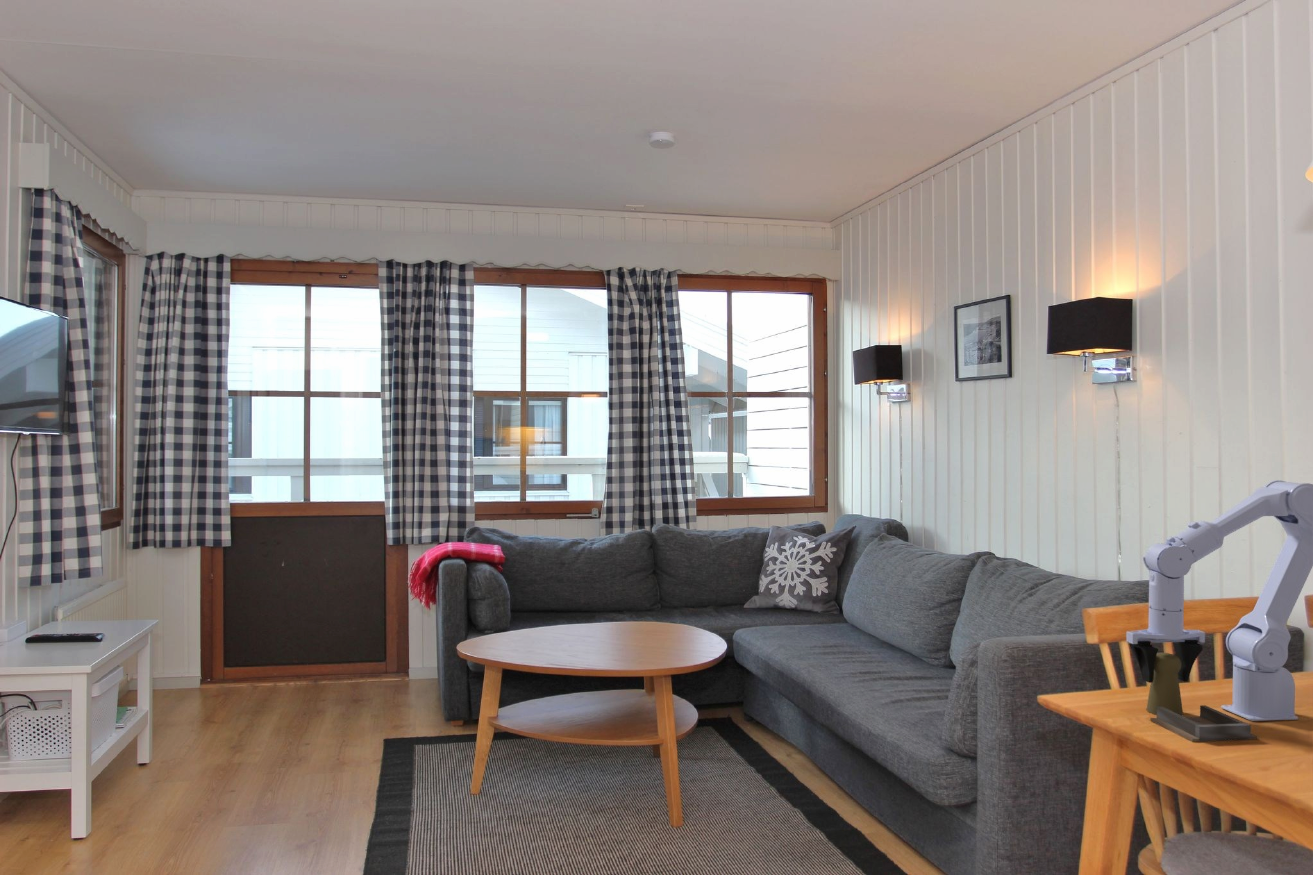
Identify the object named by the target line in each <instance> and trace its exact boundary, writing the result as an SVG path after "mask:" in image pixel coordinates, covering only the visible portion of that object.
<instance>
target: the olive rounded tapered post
mask: <svg viewBox="0 0 1313 875" xmlns="http://www.w3.org/2000/svg"><path fill="white" fill-rule="evenodd" d="M1180 669H1181V660H1180V659H1179V657H1177V656H1176V654H1173V653H1169V652H1157V654H1156V658H1155V663H1154V679H1153V683H1150V687H1149V692H1148V696H1147V697H1148V698H1147V703H1146V711H1147V712H1148V713H1149V714H1151V715H1155V716H1157V707H1164V708H1166V709H1168V710H1170V711H1172V712H1174V713H1177V714H1179V715H1181V716H1182V715H1183V716H1184V712H1183V710H1184V709H1183V704H1182V695H1181V688H1180V680H1179V679H1178V672H1179V671H1180Z"/></svg>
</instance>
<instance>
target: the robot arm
mask: <svg viewBox="0 0 1313 875" xmlns="http://www.w3.org/2000/svg"><path fill="white" fill-rule="evenodd" d="M1263 517H1274V518H1275V519H1276V520H1277V521H1278V522H1279V523H1280V524H1281V526H1282V528H1283V529H1284V531H1285V533H1286V539H1285V540H1284V542H1283V544H1282V547H1281V548H1280V551H1279V554H1278V556H1277V558H1276V560H1275V562H1274V564H1273V566H1272V567H1271V568H1272V569H1271V571H1270V573H1269V575H1268V578H1267V579H1266V582H1265V584H1264V586H1263V588H1262V590H1261V591H1260V592H1261V593H1260V594H1259V597H1258V598H1257V600H1256V604H1255V606H1254V608H1253V610H1252V611H1251V612H1249V613H1247V614H1244V616H1242V617H1241V618H1240V619H1239V621H1238V624H1237V625H1236V626H1235V627H1233V628H1232V629H1231V630H1230V631H1229V632H1228V634H1227V636H1226V637H1225V645H1226V649H1227V651H1228V652H1229V653H1230V655H1232V704H1224V705H1223V704H1221V706H1220V708H1221V709H1223V710H1226V711H1228V712H1229V713H1233V714H1235V715H1237V716H1239V717H1242V718H1244V719H1247V720H1249V721H1253V722H1259V721H1260V722H1261V721H1264V722H1265V721H1286V720H1287V721H1293V720H1294V721H1295V720H1298V719H1299V717H1298V716H1297V715H1295V714H1296V709H1295V708H1296V705H1295V704H1296V682H1295V679H1294V676H1293V675H1292V673H1291V672H1290V671H1289V670H1288V669H1287V668H1285V667H1283V666H1285V664H1286V662H1287V661H1288V657H1289V650H1288V649H1289V648H1288V647H1289V643H1290V641H1291V639H1292V636H1291V634H1290V631H1289V629H1288V627H1287V622H1288V620H1289V618H1290V616H1291V614H1292V611H1293V609H1294V607H1295V606H1296V603H1297V601H1298V599H1299V596H1300V594H1301V592H1302V590H1303V588H1304V586H1305V584H1306V582H1307V580H1308V578H1309V575H1310V573H1311V571H1312V569H1313V483H1307V482H1306V483H1305V482H1304V483H1303V482H1302V483H1301V482H1300V483H1299V482H1290V481H1284V480H1279V479H1278V480H1272V481H1269V482H1268V483H1267V484H1266V485H1265V486H1261V487H1259V488H1257V489H1255V490H1254V491H1253V492H1252V494H1251V495H1249V496H1247V497H1246V498H1244V499H1243V500H1242V501H1240V502H1239V503H1237V504H1236V505H1234V506H1233V507H1231V508H1230V509H1228V510H1227V511H1225V512H1224V513H1222V514H1221V515H1219V516H1218V517H1217V518H1215V519H1213V520H1212V521H1210V522H1209V521H1205V520H1204V521H1203V520H1199V521H1198V522H1197V521H1191V522H1190V523H1188V524H1187V526H1188V527H1187V529H1185V530H1183V531H1182V532H1179V533H1178V534H1176V535H1174V536H1169V537H1167V538H1165V541H1166V542H1165V543H1155V544H1153V545H1151V546H1150V547H1149V548H1148V549H1147V552H1146V553H1145V556H1143V557H1142V561H1143V564H1144V566H1145V567H1146V569H1147V570H1148V572H1149V574H1148V576H1149V579H1148V581H1149V583H1148V628H1147V629H1139V630H1132V631H1126V640H1125V642H1127V643H1129V644H1128V645H1129V648H1130V649H1131V651H1132V653H1133V654H1134V657H1135V658H1136V660H1137V663H1138V667H1139V670H1140V673H1141V674H1140V675H1141V678H1142V679H1141V680H1143V681H1145V682H1147V683H1149V684H1151V683H1153V679H1154V663H1155V658H1156V654H1157V653H1159V649H1158V648H1157V647H1154V646H1153V644H1154V643H1157V644H1158V643H1172V644H1173V648H1174V653H1175V654H1174V655H1176V656H1177V657H1179V659H1180V660H1181V669H1180V671H1179V672H1178V679H1179V681H1181V682H1184V683H1185V682H1187V683H1188V682H1189V678H1190V675H1191V672H1192V670H1193V666H1194V664H1195V662H1196V660H1197V658H1198V657H1199V655H1200V654H1201V653H1202V651H1203V644H1202V643H1206V632H1205V631H1202V630H1199V629H1184V611H1185V610H1184V608H1185V607H1184V606H1185V605H1184V602H1185V599H1184V598H1185V594H1184V593H1185V576H1187V575H1188V573H1189V572H1190V571H1191V568H1192V565H1193V564H1195V563H1197V562H1198V561H1200V560H1202V559H1203V558H1205V557H1206V556H1208V555H1210V554H1211V553H1213V552H1215V551H1217V550H1218V549H1220V548H1222V546H1223V544H1224V538H1225V537H1227V536H1229V535H1231V534H1232V533H1234V532H1236V531H1238V530H1240V529H1243V528H1244V527H1245V526H1248V525H1250V524H1251V523H1254V522H1255V521H1257V520H1259V519H1261V518H1263ZM1200 643H1201V644H1200Z"/></svg>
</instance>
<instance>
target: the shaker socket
mask: <svg viewBox="0 0 1313 875" xmlns="http://www.w3.org/2000/svg"><path fill="white" fill-rule="evenodd" d="M1149 721H1151V723H1154V724H1156V725H1158V726H1160V727H1163V728H1164V729H1166V730H1168V731H1170V732H1172V733H1174V734H1177V735H1178V736H1180V737H1182V738H1184V739H1186V740H1188V741H1189V742H1194V743H1195V742H1196V743H1197V742H1200V743H1201V742H1222V741H1223V742H1224V741H1251V740H1253V741H1254V740H1258V736H1257V735H1255V734H1252V733H1251V732H1252V731H1251V730H1252V725H1251V724H1249V723H1247V722H1245V721H1242V720H1241V719H1238V718H1235V717H1233V716H1231V715H1228V714H1226V713H1223V712H1221V711H1219V710H1217V709H1214V708H1212V707H1210V706H1208V705H1205V704H1204V705H1200V706H1199V716H1184V715H1183V716H1181V715H1179V714H1177V713H1174V712H1172V711H1170V710H1168V709H1166V708H1164V707H1157V715H1156V717H1150V720H1149Z"/></svg>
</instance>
